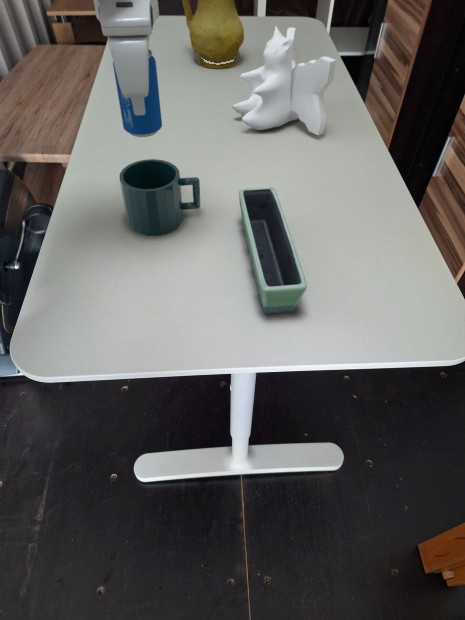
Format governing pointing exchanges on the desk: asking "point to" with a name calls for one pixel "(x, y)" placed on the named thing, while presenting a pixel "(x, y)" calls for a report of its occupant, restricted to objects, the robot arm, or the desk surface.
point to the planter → (271, 251)
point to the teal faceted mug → (155, 196)
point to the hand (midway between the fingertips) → (139, 102)
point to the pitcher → (215, 31)
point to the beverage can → (152, 117)
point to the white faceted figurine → (286, 88)
